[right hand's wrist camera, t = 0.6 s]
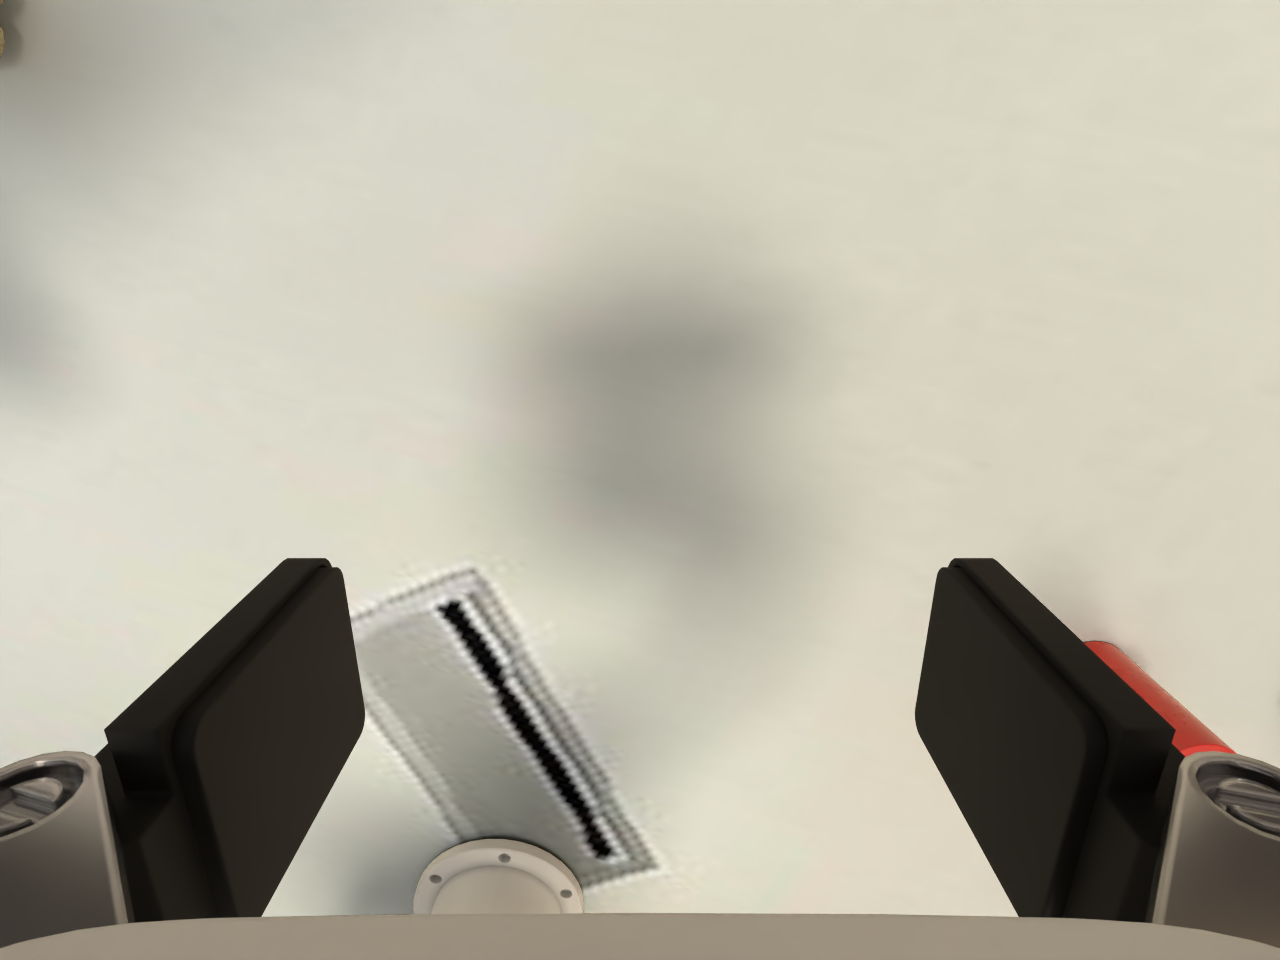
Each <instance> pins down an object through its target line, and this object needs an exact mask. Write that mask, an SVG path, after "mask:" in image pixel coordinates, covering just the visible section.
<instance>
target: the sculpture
mask: <svg viewBox="0 0 1280 960" xmlns="http://www.w3.org/2000/svg"><path fill="white" fill-rule="evenodd" d="M3 1H4V0H0V4H2V3H3ZM4 46H5V40H4V33H3V29H2V28H1V27H0V57H1V56H2V55H3V50H4Z"/></svg>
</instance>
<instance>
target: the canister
mask: <svg viewBox="0 0 1280 960" xmlns="http://www.w3.org/2000/svg"><path fill="white" fill-rule="evenodd" d="M1084 644H1085V645H1087V646H1088V647H1089V648H1090V649H1091V650H1092V651H1093V652H1094V653H1095V654H1096V655H1097V656H1098V657H1099V658H1100V659H1101V660H1102V661H1103V662H1105V663H1106V664H1107V665H1108V666H1109V667H1110V668H1111V669H1112V670H1113V671H1114V672H1115V673H1116V674H1117V675H1118V676H1119V677H1120V678H1122V679H1123V680H1124V681H1125V682H1126V683H1127V684H1128V685H1129V686H1130V687H1131V688H1132V689H1133V690H1134V691H1135V692H1136V693H1137V694H1138V695H1140V696H1141V697H1142V698H1143V699H1144V700H1145V701H1146V702H1147V703H1148V704H1149V705H1150V706H1151V707H1152V708H1153V709H1154V710H1155V711H1157V712H1158V713H1159V714H1160V715H1161V716H1162V717H1163V718H1164V719H1165V720H1166V721H1167V722H1168V723H1169V724H1170V725H1171V726H1172V727H1173V728H1175V729H1176V731H1175V734H1174V737H1173V740H1172V744H1173V745H1174V746H1175V747H1176V748H1177V749H1178V750H1179V751H1180V752H1181V753H1182V754H1183V755H1184V756H1185V757H1187V756H1189V755H1191V754H1194V753H1196V752H1206V751H1219V752H1226V753H1233V754H1236V753H1235V752H1234V751H1233V750H1232V749H1231V748H1230V747H1229V746H1227V745H1226V744H1225V743H1224V742H1223V741H1222V740H1221V739H1220V738H1218V737H1217V736H1216V735H1215V734H1214V733H1213V732H1212V731H1211V730H1209V729H1208V728H1207V727H1206V726H1205V725H1204V724H1203V723H1202V722H1200V721H1199V720H1198V719H1197V718H1196V717H1195V716H1194V715H1193V714H1191V713H1190V712H1189V711H1188V710H1187V709H1186V708H1185V707H1183V706H1182V705H1181V704H1180V703H1179V702H1178V701H1177V700H1176V699H1174V698H1173V697H1172V696H1171V695H1170V694H1169V693H1168V692H1167V691H1165V690H1164V689H1163V688H1162V687H1161V686H1160V685H1159V684H1158V683H1156V682H1155V681H1154V680H1153V679H1152V678H1151V677H1150V676H1148V675H1147V674H1146V673H1145V672H1144V671H1143V670H1142V669H1141V668H1139V667H1138V666H1137V665H1136V664H1135V663H1134V662H1133V661H1132V660H1130V659H1129V658H1128V657H1127V656H1126V655H1125V654H1124V653H1123V652H1121V651H1120V650H1119V649H1118V648H1117V647H1115V646H1113V645H1111V644H1109V643H1106V642H1100V641H1091V642H1085V643H1084Z"/></svg>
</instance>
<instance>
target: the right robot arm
mask: <svg viewBox="0 0 1280 960" xmlns="http://www.w3.org/2000/svg"><path fill="white" fill-rule="evenodd" d="M364 721H365V708H364V701H363V695H362V689H361V683H360V677H359V671H358V664H357V658H356V652H355V646H354V640H353V634H352V627H351V621H350V615H349V609H348V603H347V596H346V590H345V584H344V578H343V574H342V572H341V570H340V569H339V568H338V567H332V566H331V564H330V562H329V561H328V560H327V559H326V558H287V559H285V560H284V561H283V562H281V563H280V564H279V565H278V566H277V567H276V568H275V569H274V570H273V571H272V572H271V573H270V574H269V575H268V576H267V577H266V578H265V579H263V580H262V581H261V582H260V583H259V584H258V585H257V586H256V587H255V588H254V589H253V590H252V591H251V592H250V593H249V594H248V595H246V596H245V597H244V598H243V599H242V600H241V601H240V602H239V603H238V604H237V605H236V606H235V607H234V608H233V609H232V610H231V611H230V612H228V613H227V614H226V615H225V616H224V617H223V618H222V619H221V620H220V621H219V622H218V623H217V624H216V625H215V626H214V627H213V628H212V629H210V630H209V631H208V632H207V633H206V634H205V635H204V636H203V637H202V638H201V639H200V640H199V641H198V642H197V643H196V644H195V645H193V646H192V647H191V648H190V649H189V650H188V651H187V652H186V653H185V654H184V655H183V656H182V657H181V658H180V659H179V660H178V661H177V662H175V663H174V664H173V665H172V666H171V667H170V668H169V669H168V670H167V671H166V672H165V673H164V674H163V675H162V676H161V677H160V678H158V679H157V680H156V681H155V682H154V683H153V684H152V685H151V686H150V687H149V688H148V689H147V690H146V691H145V692H144V693H143V694H142V695H140V696H139V697H138V698H137V699H136V700H135V701H134V702H133V703H132V704H131V705H130V706H129V707H128V708H127V709H126V710H125V711H123V712H122V713H121V714H120V715H119V716H118V717H117V718H116V719H115V720H114V721H113V722H112V723H111V724H110V725H109V726H108V727H107V728H105V729H104V731H105V734H106V737H107V740H108V744H107V745H106V746H105V747H104V748H103V749H102V750H101V751H100V752H99V753H98V754H97V755H96V756H95V757H93V756H91V755H89V754H86V753H84V752H74V751H61V752H54V753H47V754H41V755H38V756H34V757H31V758H27V759H24V760H20V761H17V762H15V763H12V764H10V765H8V766H5V767H3V768H1V769H0V960H1280V769H1279V768H1277V767H1275V766H1272V765H1270V764H1268V763H1265V762H1263V761H1260V760H1256V759H1253V758H1249V757H1246V756H1242V755H1239V754H1233V753H1226V752H1219V751H1206V752H1196V753H1194V754H1191V755H1189V756H1187V757H1185V756H1184V755H1183V754H1182V753H1181V752H1180V751H1179V750H1178V749H1177V748H1176V747H1175V746H1174V745H1173V744H1172V740H1173V737H1174V734H1175V731H1176V729H1175V728H1173V727H1172V726H1171V725H1170V724H1169V723H1168V722H1167V721H1166V720H1165V719H1164V718H1163V717H1162V716H1161V715H1160V714H1159V713H1158V712H1157V711H1155V710H1154V709H1153V708H1152V707H1151V706H1150V705H1149V704H1148V703H1147V702H1146V701H1145V700H1144V699H1143V698H1142V697H1141V696H1140V695H1138V694H1137V693H1136V692H1135V691H1134V690H1133V689H1132V688H1131V687H1130V686H1129V685H1128V684H1127V683H1126V682H1125V681H1124V680H1123V679H1122V678H1120V677H1119V676H1118V675H1117V674H1116V673H1115V672H1114V671H1113V670H1112V669H1111V668H1110V667H1109V666H1108V665H1107V664H1106V663H1105V662H1103V661H1102V660H1101V659H1100V658H1099V657H1098V656H1097V655H1096V654H1095V653H1094V652H1093V651H1092V650H1091V649H1090V648H1089V647H1088V646H1087V645H1085V644H1084V643H1083V642H1082V641H1081V640H1080V639H1079V638H1078V637H1077V636H1076V635H1075V634H1074V633H1073V632H1072V631H1071V630H1070V629H1069V628H1067V627H1066V626H1065V625H1064V624H1063V623H1062V622H1061V621H1060V620H1059V619H1058V618H1057V617H1056V616H1055V615H1054V614H1053V613H1052V612H1050V611H1049V610H1048V609H1047V608H1046V607H1045V606H1044V605H1043V604H1042V603H1041V602H1040V601H1039V600H1038V599H1037V598H1036V597H1035V596H1034V595H1032V594H1031V593H1030V592H1029V591H1028V590H1027V589H1026V588H1025V587H1024V586H1023V585H1022V584H1021V583H1020V582H1019V581H1018V580H1017V579H1015V578H1014V577H1013V576H1012V575H1011V574H1010V573H1009V572H1008V571H1007V570H1006V569H1005V568H1004V567H1003V566H1002V565H1001V564H1000V563H999V562H997V561H996V560H995V559H993V558H954V559H953V560H952V561H951V562H950V564H949V566H948V567H942V568H941V569H940V570H939V572H938V574H937V578H936V584H935V590H934V596H933V603H932V609H931V615H930V621H929V627H928V634H927V640H926V646H925V652H924V658H923V664H922V671H921V677H920V683H919V689H918V695H917V701H916V708H915V721H916V726H917V730H918V733H919V735H920V737H921V739H922V741H923V743H924V744H925V746H926V748H927V750H928V752H929V753H930V755H931V757H932V759H933V761H934V763H935V764H936V766H937V768H938V770H939V772H940V774H941V775H942V777H943V779H944V781H945V783H946V785H947V786H948V788H949V790H950V792H951V794H952V796H953V797H954V799H955V801H956V803H957V805H958V806H959V808H960V810H961V812H962V814H963V816H964V817H965V819H966V821H967V823H968V825H969V827H970V828H971V830H972V832H973V834H974V836H975V838H976V839H977V841H978V843H979V845H980V847H981V849H982V850H983V852H984V854H985V856H986V858H987V859H988V861H989V863H990V865H991V867H992V869H993V870H994V872H995V874H996V876H997V878H998V880H999V881H1000V883H1001V885H1002V887H1003V889H1004V891H1005V892H1006V894H1007V896H1008V898H1009V900H1010V902H1011V903H1012V905H1013V907H1014V909H1015V911H1016V912H1017V914H1018V916H1019V917H990V916H941V915H891V914H712V913H583V909H584V903H583V894H582V891H581V888H580V885H579V883H578V881H577V880H576V878H575V876H574V875H573V873H572V872H571V871H570V870H569V869H568V868H567V867H566V866H565V865H564V864H563V863H562V862H561V861H560V860H558V859H557V858H556V857H554V856H553V855H551V854H550V853H548V852H546V851H544V850H542V849H540V848H538V847H536V846H533V845H530V844H526V843H523V842H520V841H513V840H507V839H483V840H476V841H470V842H467V843H463V844H460V845H457V846H455V847H453V848H451V849H449V850H447V851H445V852H443V853H442V854H440V855H439V856H438V857H436V858H435V859H434V860H433V861H432V862H431V863H430V864H429V865H428V866H427V868H426V869H425V870H424V872H423V874H422V876H421V878H420V880H419V882H418V885H417V888H416V892H415V895H414V902H413V911H414V914H389V915H340V916H290V917H261V916H262V914H263V912H264V911H265V909H266V907H267V905H268V903H269V902H270V900H271V898H272V896H273V894H274V892H275V891H276V889H277V887H278V885H279V883H280V881H281V880H282V878H283V876H284V874H285V872H286V870H287V869H288V867H289V865H290V863H291V861H292V859H293V858H294V856H295V854H296V852H297V850H298V849H299V847H300V845H301V843H302V841H303V839H304V838H305V836H306V834H307V832H308V830H309V828H310V827H311V825H312V823H313V821H314V819H315V817H316V816H317V814H318V812H319V810H320V808H321V806H322V805H323V803H324V801H325V799H326V797H327V796H328V794H329V792H330V790H331V788H332V786H333V785H334V783H335V781H336V779H337V777H338V775H339V774H340V772H341V770H342V768H343V766H344V764H345V763H346V761H347V759H348V757H349V755H350V753H351V752H352V750H353V748H354V746H355V744H356V743H357V741H358V739H359V737H360V735H361V733H362V730H363V726H364Z"/></svg>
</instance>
